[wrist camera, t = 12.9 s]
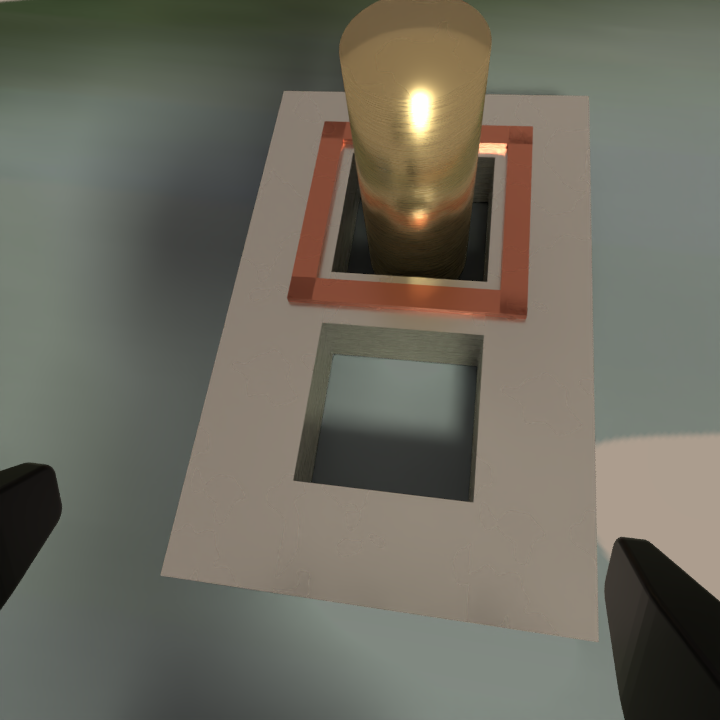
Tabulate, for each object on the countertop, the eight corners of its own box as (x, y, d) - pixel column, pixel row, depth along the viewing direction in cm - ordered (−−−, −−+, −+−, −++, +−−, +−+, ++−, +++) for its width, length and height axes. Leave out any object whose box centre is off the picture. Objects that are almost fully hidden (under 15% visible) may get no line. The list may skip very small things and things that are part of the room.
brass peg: (485, 247, 27) (522, 27, 17) (425, 314, 26) (426, 122, 16) (411, 201, 28) (403, -27, 18) (351, 263, 27) (308, 57, 17)
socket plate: (574, 637, 20) (601, 642, 17) (193, 579, 22) (156, 574, 19) (573, 145, 28) (590, 90, 25) (296, 137, 30) (282, 85, 27)
